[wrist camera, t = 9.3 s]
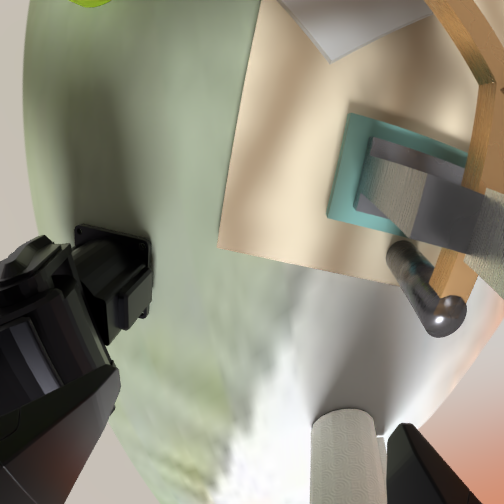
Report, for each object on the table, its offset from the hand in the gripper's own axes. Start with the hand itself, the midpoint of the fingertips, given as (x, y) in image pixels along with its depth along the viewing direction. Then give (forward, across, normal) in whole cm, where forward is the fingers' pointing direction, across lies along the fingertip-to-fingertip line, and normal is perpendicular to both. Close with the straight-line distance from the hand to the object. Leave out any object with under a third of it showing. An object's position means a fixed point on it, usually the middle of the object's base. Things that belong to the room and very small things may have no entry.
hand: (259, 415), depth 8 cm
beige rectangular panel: (+13, -4, -12) cm, 18 cm away
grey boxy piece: (+11, -7, -6) cm, 15 cm away
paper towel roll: (+13, -10, +16) cm, 23 cm away
